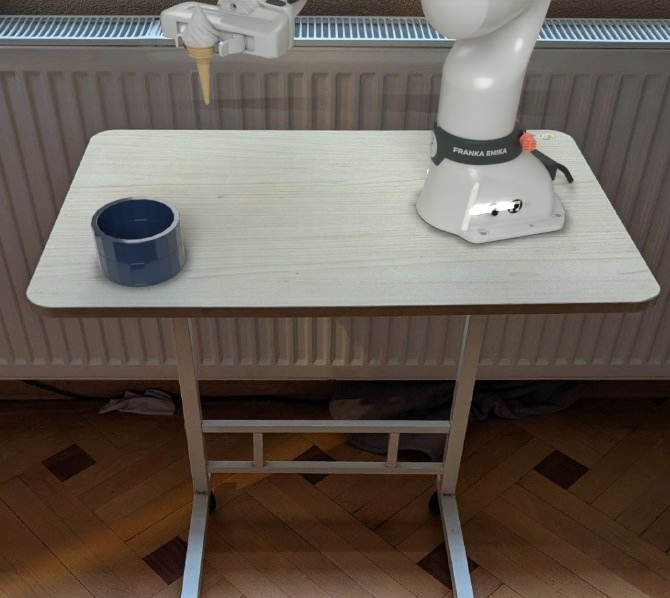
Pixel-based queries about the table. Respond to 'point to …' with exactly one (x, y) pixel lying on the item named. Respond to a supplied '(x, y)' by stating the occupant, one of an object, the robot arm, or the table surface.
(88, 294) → the table surface
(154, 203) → the pot
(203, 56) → the ice cream cone
